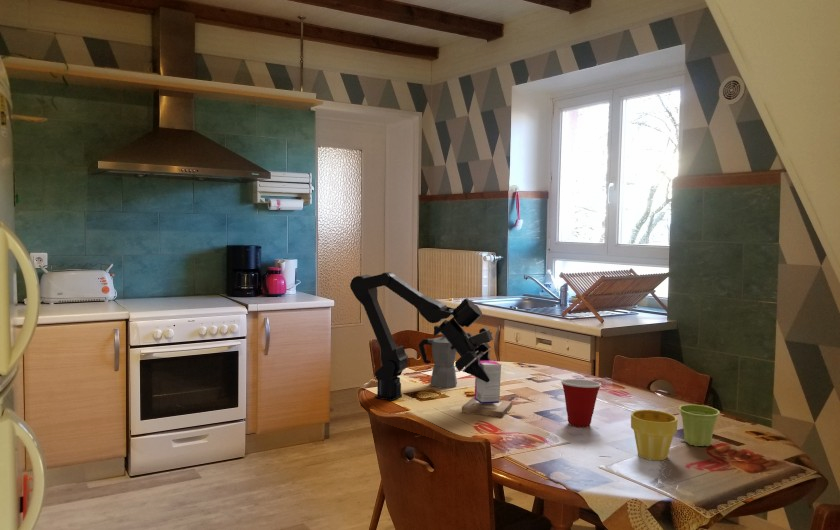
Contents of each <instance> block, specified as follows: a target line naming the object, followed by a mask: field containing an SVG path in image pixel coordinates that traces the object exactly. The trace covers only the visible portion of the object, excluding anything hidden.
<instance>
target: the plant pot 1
mask: <svg viewBox="0 0 840 530" xmlns="http://www.w3.org/2000/svg"><path fill="white" fill-rule="evenodd" d="M678 420H679V419H678V417H677V416H676V415H674V414H673V413H670V412H667V411H661V410H657V409H637V410H634V411H633V412H631V415H630V428H631V429H632V430H633V433H634V439H635V445H636V449H637V455H638V456H639V457H640V456H641V457H640V458H642V457H643V458H642V459H645V458H646V459H645V460H649V459H651V460H650V461H664V460H666V459H668V455H669V452H670V449H671V445H672V442H673V438H674V435H676V434H677V432H678Z"/></svg>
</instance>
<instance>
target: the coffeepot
mask: <svg viewBox="0 0 840 530" xmlns="http://www.w3.org/2000/svg"><path fill="white" fill-rule="evenodd" d="M425 345H429V346H431V351H432V352H431V353H432V359H433V360H434V364H433V367H432V372H431V378H430V382H429V383H430V386H431V387H434V386H435V388H438V387H441V388H440V389H450V388H449V387H452V388H455V387H457V384H458V381H457V373H456V367H455V362H456V357H457V356H456V355H457V353H458V352H457V351H456V350H455V349H453V350H452V349H451V348H450V347H451V346H452V345H451V344H450V343H449V342H448V341H447V339H446V338H445V337H444V336H443V335H442V336H440V337H434V338H423V339H422V340H421V341H420V342H419V343H418V349H419V351H420V355H421V358H422V361H423V363H424V364H431V360H427V353H426V349H425Z"/></svg>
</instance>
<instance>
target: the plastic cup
mask: <svg viewBox="0 0 840 530" xmlns="http://www.w3.org/2000/svg"><path fill="white" fill-rule="evenodd" d="M560 382H561V384H562V389H563V393H564V401H565V408H566V413H567V414H566V415H567V422H568V425H570V426H572V427H576V428H588V427H591V424H592V419H593V418H592V417H593V414H594V411H595V407H596V402H597V397H598V394H599V390H600V388H601V387H602V383H601V382H597V381H593V380H589V379H587V380H586V379H579V378H567V379H566V378H565V379H562V380H561V379H560Z"/></svg>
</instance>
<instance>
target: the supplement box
mask: <svg viewBox="0 0 840 530" xmlns="http://www.w3.org/2000/svg"><path fill="white" fill-rule="evenodd" d="M480 365H481V366H482V368H483V370H484V371H485V373H486V374H487V376H488V377H489V379H490V381H489V382H485V381H483V380H481V379H479V378H477V377H475V376H474V377H475V379H474V380H475V381H474V396H473V397H474V399H475V400H477V401H478V402H480V403H481V404H490V403H499V400H501V399H500V398H501V397H500V396H501V394H500V393H501V378H502V377H501V376H502V375H501V374H502V373H501V372H502V364H501V363H499V362H497V361H495V360H494V359H493V360H491V359H490V360H489V361H480Z"/></svg>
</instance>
